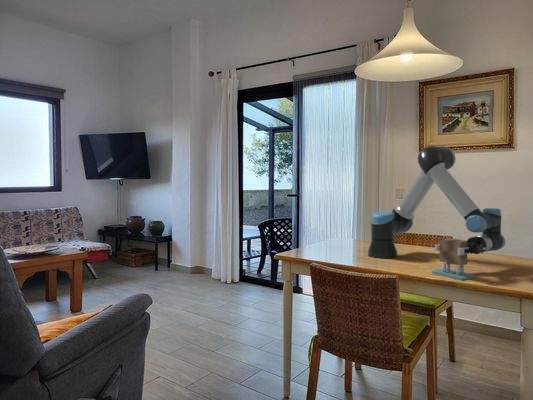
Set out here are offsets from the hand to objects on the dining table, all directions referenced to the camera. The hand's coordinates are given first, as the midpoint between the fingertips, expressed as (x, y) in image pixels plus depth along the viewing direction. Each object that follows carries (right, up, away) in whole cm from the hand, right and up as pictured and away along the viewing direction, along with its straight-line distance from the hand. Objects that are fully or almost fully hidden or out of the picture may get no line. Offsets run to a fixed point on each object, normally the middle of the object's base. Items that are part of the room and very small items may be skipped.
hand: (446, 249), depth 168 cm
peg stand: (+4, -11, +3) cm, 12 cm away
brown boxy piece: (+4, -6, +3) cm, 7 cm away
